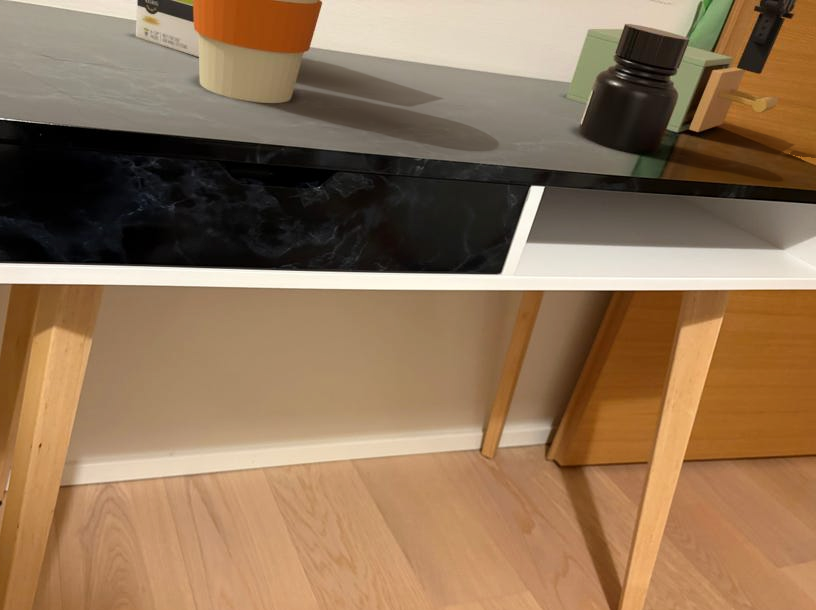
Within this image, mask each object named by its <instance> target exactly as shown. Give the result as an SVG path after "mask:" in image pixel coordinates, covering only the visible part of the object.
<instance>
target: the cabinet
mask: <svg viewBox="0 0 816 610" xmlns="http://www.w3.org/2000/svg"><path fill="white" fill-rule="evenodd" d="M622 31H623V28H588V29H587V32H586V36H585V37H584V42H583V45H582V48H581V50H580V53H579V57H578V60H577V63H576V67H575V70H574V73H573V75H572V79H571V81H570V85H569V88H568V91H567V95H566V99H570V100H572V101H576V102H579V103H582V104H586V105H587V102H588V99H589V96H590V93H591V90H592V88H593V85H594V82H595V79H596V77H597V75H598V74H599V73H601V72H603V71H605V70H608V68H609V67H610V66H615V65H616V62H615V61H614V59H613V57H614V55H615V52H616V49H617V46H618V43H619V40H620V37H621V34H622ZM733 61H734V57H733V56H728V55H724V54H721V53H717V52H714V51H709V50H706V49H702V48H697V47H694V46H689V45H688V46H687V48H686V51H685V53H684V56H683V59H682V61H681V64H680V66H679V69H677V74H676V75H674V76H671V77H670V80H671V81H673V83H674V88H675V89H676V90H677V92H678V100H677V103H676V106H675V108H674V111H673V113H672V116H671V118H670V121H669V124H668V126H667V129H666V130H668V131H671V132H674V133H676V134H677V133H681V132H684V131H688V130H689V128H690V125H691V123H692V121H693V120H691V121H687V122H684V123H683V121H684V119H685V116H686V114H687V111H688V109H689V106H690V104H691V101H692V99H693V96H694V94H695V91H696V89H697V86H698V84H699V81H700V79H701V76H702V74H703V71H704V69H705V67H707V66H716V65H723V66H725V68H724V69H727V68H731V65H732V62H733Z"/></svg>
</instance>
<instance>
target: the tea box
mask: <svg viewBox="0 0 816 610" xmlns="http://www.w3.org/2000/svg"><path fill="white" fill-rule="evenodd" d="M136 3H137V4H136V22H135V23H136V24H135V37H136V38H139V39H142V40H144V41H148V42H151V43H154V44H156V45H159V46H162V47H165V48H169V49H172V50H174V51H178V52H181V53H184V54H187V55H191V56H192V57H193V56H194V57H197V58H199V35H198V32H197V31H195V29H194V14H193V0H137V1H136Z"/></svg>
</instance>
